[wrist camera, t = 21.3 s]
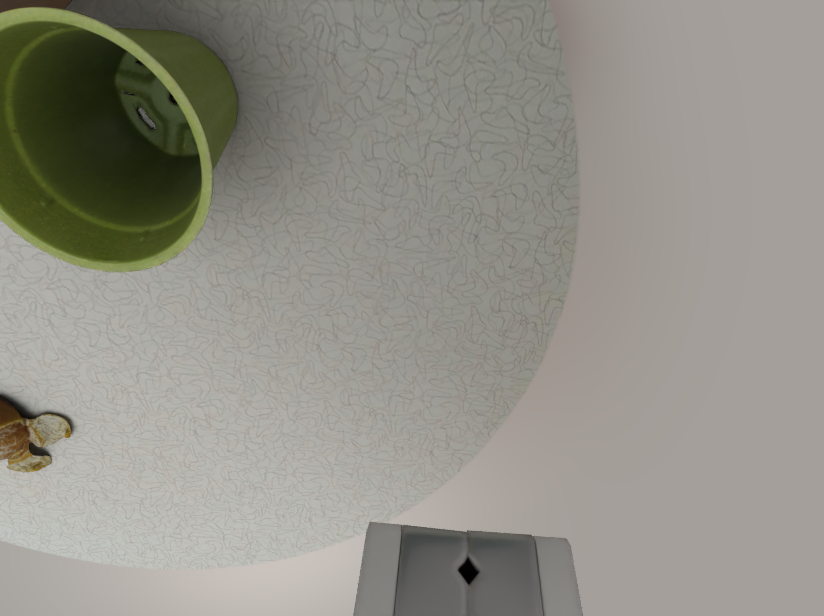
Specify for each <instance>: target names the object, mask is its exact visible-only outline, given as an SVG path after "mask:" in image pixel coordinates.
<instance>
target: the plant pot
mask: <svg viewBox="0 0 824 616" xmlns="http://www.w3.org/2000/svg"><path fill="white" fill-rule="evenodd" d="M138 60H140V61H141V62H142V63H143V65H140V64H139V63H136V61H138ZM121 91H125V92H128V93H131V94H135V95H136V96H131V95H127V94H124V93H122V92H121ZM170 93H171V94H172V96H173V97H174V99H175V100H176V102H177V103H178V104H174V103H173V102H172V101H171V100H170ZM138 107H140V108H142V109H144V111H145V112H146V114H147V115H148V117H149V118H150V119H151V120H152V121H153V122H154V124H155V126H156V129H150V128H149V127H148V126H147V125H146V124H145V123H144V121H143V120H142V119H141V117H140V116H139V114H138V112H137V108H138ZM236 119H237V93H236V89H235V86H234V84H233V81H232V79H231V77H230V75H229V72H228V70H227V69H226V67H225V65H224V64H223V63H222V61H221V60H220V59H219V58H218V57H217V55H216V54H215V53H214V52H212V51H211V50H210V49H209V48H208V47H207V46H205V45H204V44H203V43H201V42H200V41H198V40H196V39H194V38H192V37H190V36H188V35H185V34H181V33H178V32H173V31H167V30H145V29H124V28H113V27H111V26H109V25H107V24H105V23H103V22H100V21H98V20H96V19H93V18H91V17H88V16H86V15H83V14H79V13H76V12H72V11H68V10H63V9H57V8H47V7H26V8H18V9H13V10H9V11H5V12H2V13H0V219H1V220H2V221H3V222H4V223H5V224H6V225H7V226H8V227H9V228H10V229H12V230H13V231H14V232H15V233H16V234H18V235H19V236H20V237H22V238H23V239H24V240H26V241H27V242H29V243H31V244H32V245H34V246H35V247H37V248H39V249H41V250H42V251H44V252H46V253H48V254H50V255H52V256H54V257H56V258H58V259H60V260H63V261H65V262H68V263H70V264H74V265H78V266H80V267H85V268H89V269H94V270H99V271H106V272H130V271H138V270H144V269H149V268H152V267H155V266H158V265H160V264H163V263H164V262H166V261H168V260H170V259H172V258H173V257H175V256H176V255H178V254H179V253H181V252H182V251H183V250H184V249H185V248H186V247H187V246H188V245H189V244H190V243H191V242H192V241H193V240H194V238H195V237H196V236H197V234H198V233H199V231H200V230H201V228H202V226H203V224H204V222H205V220H206V217H207V215H208V212H209V208H210V204H211V199H212V192H213V170H214V168H215V166H216V164H217V162H218V160H219V158H220V156H221V154H222V152H223V150H224V148H225V146H226V144H227V142H228V140H229V138H230V136H231V134H232V132H233V129H234V127H235V124H236ZM184 144H185V145H184Z"/></svg>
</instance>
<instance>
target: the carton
mask: <svg viewBox="0 0 824 616" xmlns="http://www.w3.org/2000/svg"><path fill="white" fill-rule="evenodd" d="M71 1H72V0H0V13H2V12H5V11H9V10H13V9H18V8H26V7H47V8H57V9H63V10H64V9H65V7H66V6H67V5H68V4H69V3H70V2H71Z"/></svg>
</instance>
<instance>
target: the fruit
mask: <svg viewBox="0 0 824 616" xmlns="http://www.w3.org/2000/svg"><path fill="white" fill-rule="evenodd" d="M70 434H71V429H70V425H69V423H68V422H67V421H66V419H64V418H62V417H59V416H56V415H54V414H43V415H42V416H39V417H37V418H36V419H31V420H29V419H25V418H22V417H21V416H20V415H19V413H18V412H17V411H16V410H15V408H14V407H13V405H12V404H11V403H10V402H9V401H7V400H5V399H4V398H3V397H1V396H0V460H3V459H7V458H8V462H9V464H8V467H7V468H8V469H11V470H15V471H20V472H30V471H37V470H40V469H41V468H43V467H45V466H47V465H49V464H51V462H52V460H51V458H50V457H51V456H50V457H49V456H46V455H45V456H34V455H32V454H31V453H30V452H29V443H30V442H33V443H34V444H35V445H36V446H37V447H43V446H45V447H46V446H48V445H50V444H54V443H55V442H56V441H57V440H59V439H60V438H62V437H65V438H69V437H70Z"/></svg>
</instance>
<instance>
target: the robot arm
mask: <svg viewBox="0 0 824 616" xmlns="http://www.w3.org/2000/svg"><path fill="white" fill-rule="evenodd" d="M353 616H583V613H582V607H581V602H580V596H579V591H578V584H577V579H576V573H575V568H574V562H573V556H572V551H571V545H570V544H569V542H568V540H567V539H565V538H554V537H540V536H531V535H526V534H510V533H495V532H482V531H467V532H463V531H454V530H444V529H435V528H426V527H417V526H408V525H403V526H402V525H399V524H388V523H377V522H370V523H369V526H368V529H367V532H366V538H365V545H364V551H363V557H362V564H361V570H360V576H359V583H358V589H357V595H356V602H355V608H354V615H353Z"/></svg>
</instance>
